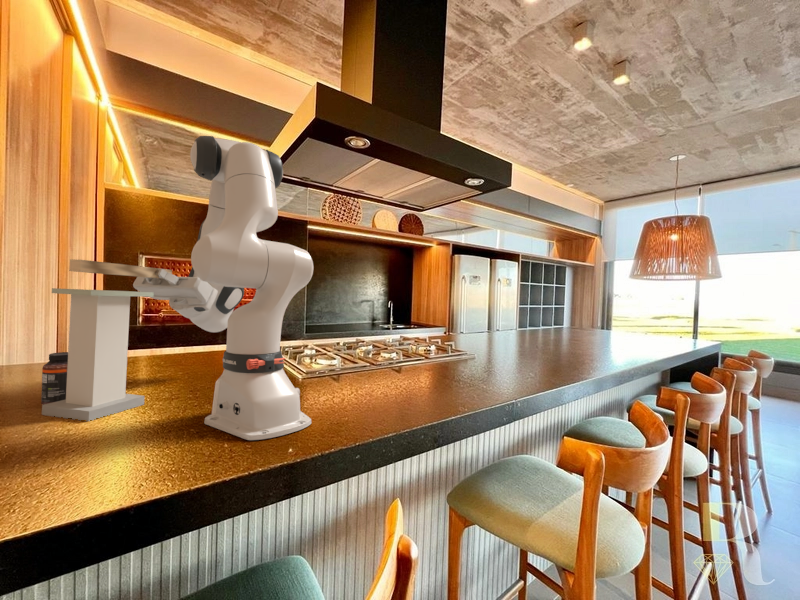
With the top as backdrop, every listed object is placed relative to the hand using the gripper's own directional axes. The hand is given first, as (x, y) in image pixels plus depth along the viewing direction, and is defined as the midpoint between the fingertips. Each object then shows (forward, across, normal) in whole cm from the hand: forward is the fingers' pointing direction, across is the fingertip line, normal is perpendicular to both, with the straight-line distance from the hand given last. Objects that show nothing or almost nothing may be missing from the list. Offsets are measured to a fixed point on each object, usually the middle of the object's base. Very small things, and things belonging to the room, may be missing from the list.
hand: (151, 270), depth 88 cm
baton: (+5, 0, +5) cm, 7 cm away
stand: (-6, 0, +33) cm, 33 cm away
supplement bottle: (-6, -11, +33) cm, 35 cm away
